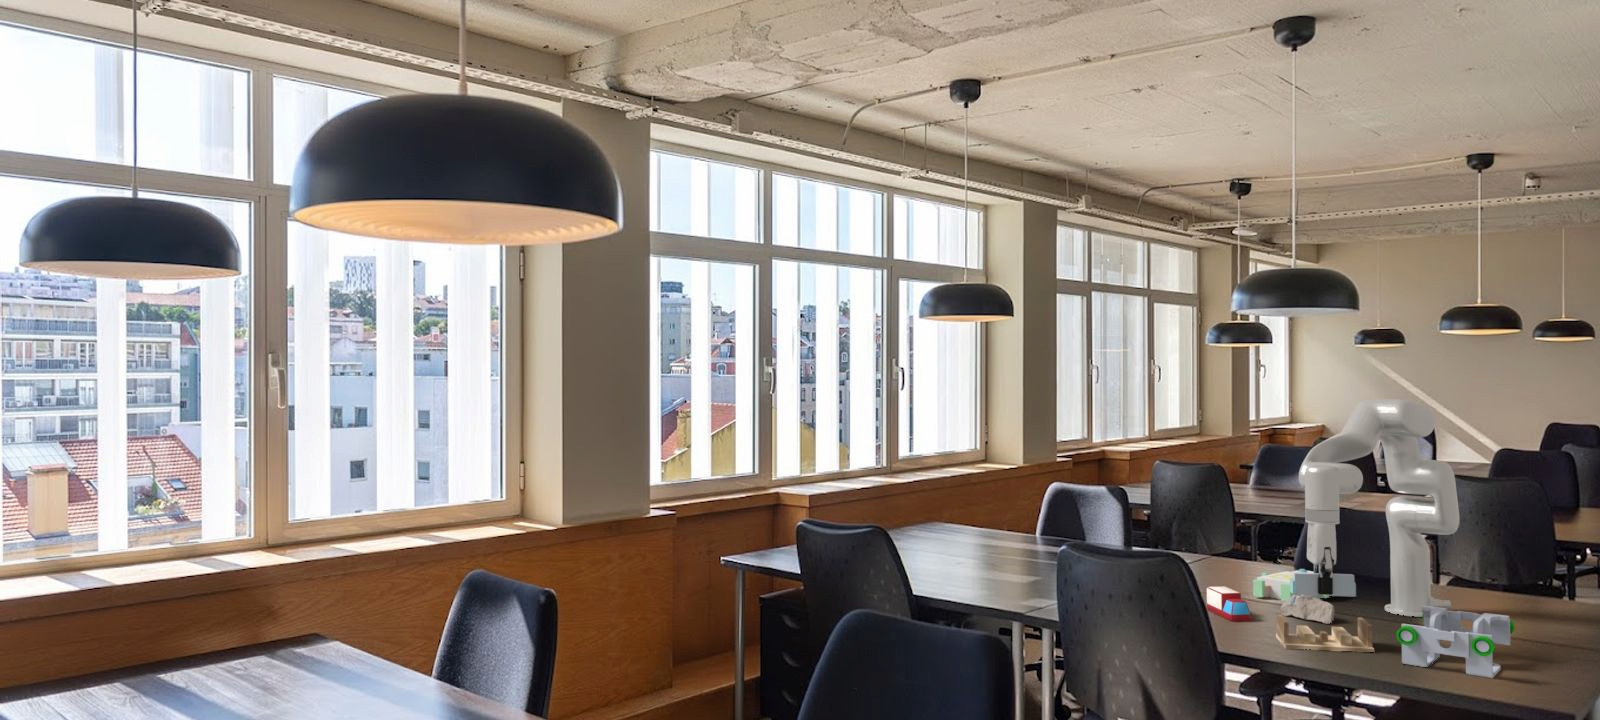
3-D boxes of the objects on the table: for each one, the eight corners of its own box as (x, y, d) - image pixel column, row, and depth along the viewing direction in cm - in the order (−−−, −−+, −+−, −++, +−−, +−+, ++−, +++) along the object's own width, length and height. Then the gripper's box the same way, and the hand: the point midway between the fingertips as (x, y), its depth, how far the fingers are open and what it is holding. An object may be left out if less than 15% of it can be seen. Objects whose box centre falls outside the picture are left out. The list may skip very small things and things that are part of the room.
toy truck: (1231, 622, 291) (1231, 597, 291) (1206, 610, 306) (1206, 586, 306) (1251, 622, 292) (1251, 597, 292) (1225, 610, 307) (1225, 586, 307)
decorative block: (1287, 565, 340) (1351, 574, 323) (1287, 586, 340) (1352, 596, 323) (1239, 575, 324) (1304, 585, 308) (1240, 596, 324) (1304, 608, 308)
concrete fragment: (1324, 626, 286) (1324, 603, 286) (1277, 616, 299) (1277, 593, 299) (1341, 623, 290) (1341, 599, 290) (1294, 612, 302) (1294, 590, 302)
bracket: (1515, 657, 253) (1514, 614, 253) (1493, 681, 235) (1492, 634, 235) (1424, 644, 266) (1423, 603, 266) (1396, 666, 247) (1396, 621, 247)
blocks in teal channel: (1352, 593, 266) (1352, 572, 266) (1356, 596, 263) (1356, 575, 263) (1290, 591, 269) (1290, 570, 270) (1293, 594, 266) (1293, 573, 266)
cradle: (1360, 640, 270) (1360, 616, 270) (1374, 653, 258) (1373, 627, 258) (1276, 637, 275) (1275, 613, 275) (1285, 648, 263) (1285, 623, 263)
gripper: (1298, 512, 275) (1299, 585, 275) (1313, 520, 259) (1314, 598, 259) (1330, 512, 273) (1331, 586, 273) (1347, 521, 257) (1348, 600, 257)
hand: (1323, 591), depth 266 cm, fingers closed on blocks in teal channel, 3 cm apart
